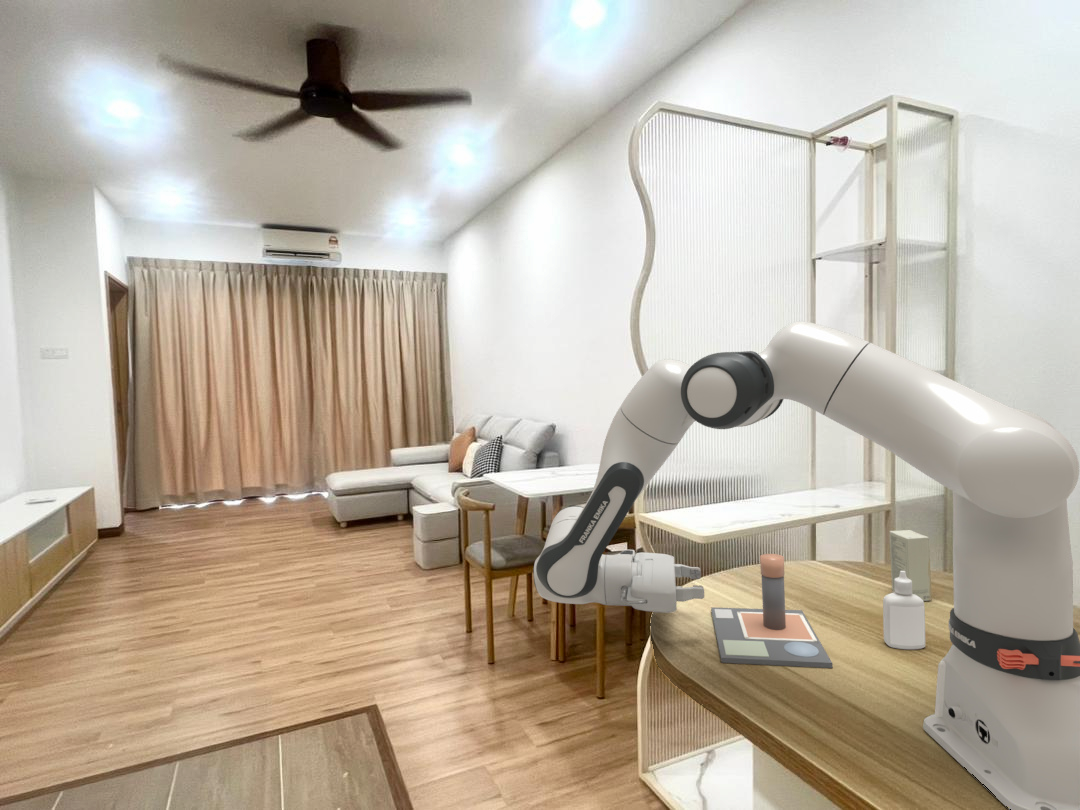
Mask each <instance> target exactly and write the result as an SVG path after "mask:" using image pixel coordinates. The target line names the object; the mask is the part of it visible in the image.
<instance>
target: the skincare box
mask: <svg viewBox="0 0 1080 810" xmlns="http://www.w3.org/2000/svg"><path fill="white" fill-rule="evenodd" d="M889 550H890V551H889V552H890V553H889V554H890V568H891V569H890V573H891V574H890V575H891V590H892V593H894V592H895V591H894V579H895V578H898V577H899V575H900V571H905V572H906V576H907V578H908V579H910V580H911V581H912V594H914V595H917V596H919V597H920V598H921V599H922V600H923V601H924V602H929V601H932V600H933V598H932V597H933V596H932V595H933V594H932V577H931V575H932V574H931V557H930V556H931V553H930V537H929V536H928V535H927V536H926V535H924V534H921V533H919V532H916V531H914V530H911V529H903V530H902V529H901V530H889Z"/></svg>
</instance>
